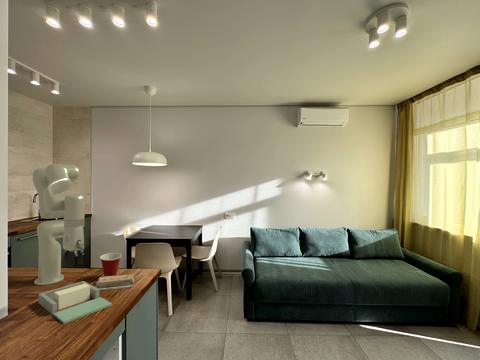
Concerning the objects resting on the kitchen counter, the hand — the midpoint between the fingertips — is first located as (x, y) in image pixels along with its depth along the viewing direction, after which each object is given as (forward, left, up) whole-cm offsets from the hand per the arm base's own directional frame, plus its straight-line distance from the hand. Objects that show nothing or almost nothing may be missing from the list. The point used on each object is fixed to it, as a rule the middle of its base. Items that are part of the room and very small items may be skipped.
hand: (73, 262), depth 111 cm
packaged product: (-4, +21, -18) cm, 28 cm away
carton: (0, 0, -18) cm, 18 cm away
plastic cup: (-16, +25, -18) cm, 35 cm away
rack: (-3, 0, -17) cm, 18 cm away
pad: (+11, 0, -17) cm, 20 cm away
